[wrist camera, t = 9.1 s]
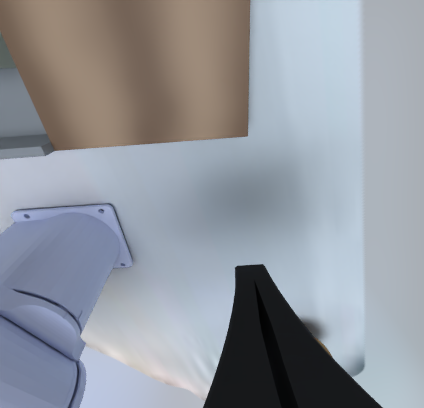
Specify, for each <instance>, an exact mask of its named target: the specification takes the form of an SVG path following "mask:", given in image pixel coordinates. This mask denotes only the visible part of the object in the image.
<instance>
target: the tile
mask: <svg viewBox="0 0 424 408" xmlns="http://www.w3.org/2000/svg"><path fill="white" fill-rule="evenodd" d="M6 68H17V67H16V65H15V63H14V61H13V59H12V56H11V54H10V52H9V50H8V48H7V45H6V43H5V41H4V39H3V37H2V34H1V32H0V69H6Z"/></svg>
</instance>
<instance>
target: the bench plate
mask: <svg viewBox="0 0 424 408" xmlns="http://www.w3.org/2000/svg"><path fill="white" fill-rule="evenodd" d="M0 32H1V34H2V37H3V39H4V41H5V43H6V45H7V48H8V50H9V52H10V54H11V56H12V59H13V61H14V63H15V65H16V67H17V69H18V72H19V74H20V76H21V78H22V80H23V83H24V85H25V87H26V89H27V91H28V94H29V96H30V98H31V100H32V102H33V105H34V107H35V109H36V111H37V113H38V115H39V118H40V120H41V122H42V124H43V126H44V129H45V131H46V133H47V135H48V137H49V140H50V142H51V144H52V146H53V148H54V151H59V150H72V149H86V148H99V147H112V146H126V145H139V144H152V143H166V142H179V141H193V140H206V139H219V138H233V137H246V136H248V95H249V35H250V0H0Z"/></svg>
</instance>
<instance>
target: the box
mask: <svg viewBox="0 0 424 408" xmlns="http://www.w3.org/2000/svg"><path fill="white" fill-rule="evenodd" d="M53 151H54V148H53V146H52V144H51V142H50V140H49V137H48V135H47V133H46V131H45V129H44V126H43V124H42V122H41V120H40V118H39V115H38V113H37V111H36V109H35V107H34V105H33V102H32V100H31V98H30V96H29V94H28V91H27V89H26V87H25V85H24V83H23V80H22V78H21V76H20V74H19V72H18V69H17V68H6V69H0V159H10V158H23V157H37V156H46V155H48V154H50V153H52V152H53Z"/></svg>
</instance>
